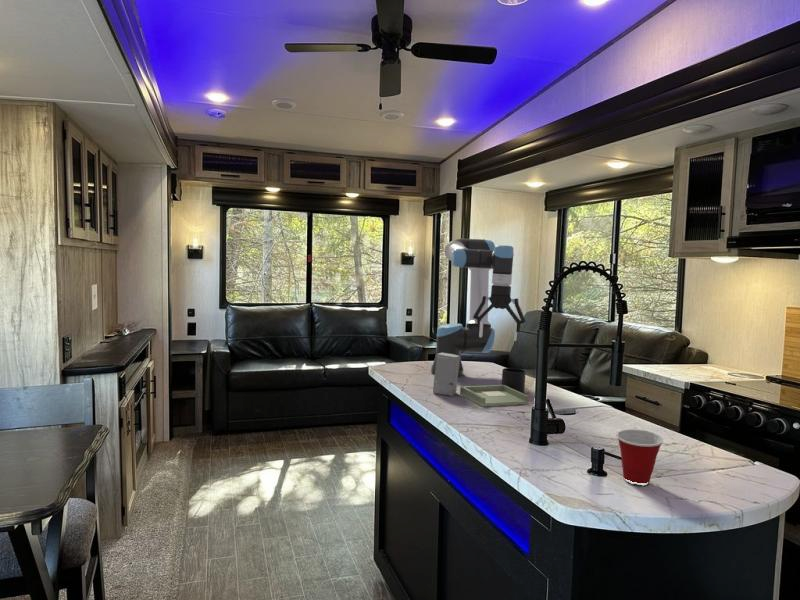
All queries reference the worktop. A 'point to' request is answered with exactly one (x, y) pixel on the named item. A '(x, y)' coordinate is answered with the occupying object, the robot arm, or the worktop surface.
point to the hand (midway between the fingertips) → (497, 338)
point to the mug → (514, 378)
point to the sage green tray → (493, 395)
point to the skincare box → (446, 374)
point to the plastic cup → (638, 453)
